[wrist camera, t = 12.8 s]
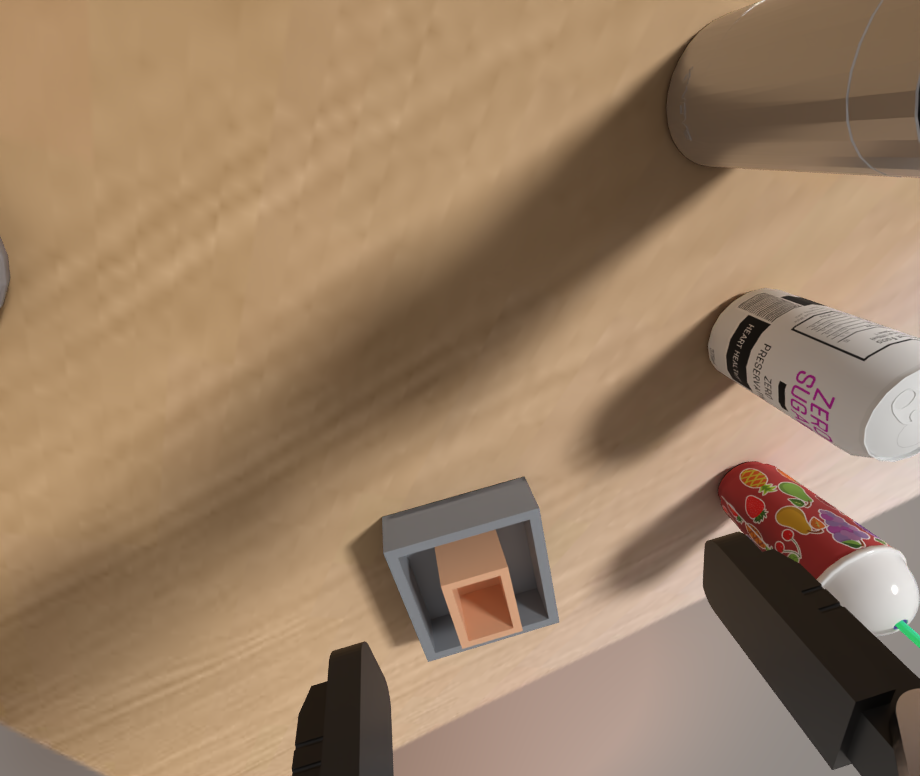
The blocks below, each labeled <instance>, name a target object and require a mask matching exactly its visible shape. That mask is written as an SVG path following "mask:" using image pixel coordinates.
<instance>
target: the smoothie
mask: <svg viewBox="0 0 920 776" xmlns="http://www.w3.org/2000/svg"><path fill="white" fill-rule="evenodd" d="M718 495H719V497H720V500H721V505H722V508H723V510H724V511H725V512H726V513H727V515H728V516H729V517H730V518H731V519H732V520H733V522H734V523H735V524H736V525H737V526H738V527H739V529H740V530H741V531H742V532H743V533H744V534H745V535H746V536H747V537H749V538H750V539H751V540H752V541H753V542H754V544H755V545H756V546H757V547H758V548H759V549H760V550H761V551H762V552H764V551H767V550H771V549H775V550H776V551H778V552H780V553H782V554H783V555H785V556H787V557H789V558H791V559H792V560H794V561H796V562H798V563H799V564H801V565H802V566H803V567H804V568H805V569H806V570H807V571H808V572H809V573H810V574H811V575H812V576H813V577H814V578H815V579H816V580H817V581H818V582H819V583H821V584H822V587H823V588H824V589H827V590H828V591H829V592H830V593H831V594H832V595H833V596H834V597H835V598H836V599H837V600H838V601H839V602H840V605H841V606H842V607H845V608H846V609H847V610H848V611H850V612H851V613H852V614H853V615H854V616H855V617H856V618H857V619H858V620H859V621H860V622H861V623H862V624H863V625H864V626H865V627H866V628H867V629H868V630H869V631H870V632H871V633H872V634H873V635H874V636H884V635H888V634H892V633H895V632H898V631H901V632H902V633H904V634H905V635H906V636H907V637H908V638H909V639H910V640H911V641H913V642H914V643H915V644H916V645H917V646H918V647H919V648H920V636H919V635H918V634H917V633H916V632H915V631H914V630H912V628H910V627H909V626H908V625H909V623H910V622H911V621H912V620H913V618H914V617H915V615H916V613H917V610H918V608H919V591H918V586H917V583H916V580H915V578H914V576H913V574H912V573H911V571H910V569H909V568H908V566H907V564H906V558H905V557H904V556H903V554H902V553H901V552H900V551H899V550H897V549H896V548H893V547H891V546H890V545H888V544H887V543H886V542H884V541H882V540H881V539H880V538H878V537H877V536H875V535H874V534H872V533H871V532H870V531H868V530H867V529H865V528H864V527H862V526H861V525H859V524H858V523H857V522H855V521H854V520H852V519H851V518H849V517H848V516H846V515H845V514H843V513H842V512H840V511H839V510H838V509H836V508H835V507H833V506H832V505H830V504H829V503H827V502H826V501H824V500H823V499H821V498H820V497H819V496H817V495H816V494H814V493H813V492H811V491H810V490H808V489H807V488H805V487H804V486H803V485H801V484H800V483H798V482H797V481H795V480H794V479H792V478H791V477H789V476H788V475H786V474H785V473H784V472H782V471H781V470H779V469H778V468H776V467H775V466H772V465H769V464H762V463H759V462H756V461H755V462H746V463H743V464H740V465H738V466H736V467H735V468H733V469H732V470H731V471H729V472H728V473H727V474H726V475H725V477H724V478H723V479H722V481H721V483H720V485H719V488H718Z"/></svg>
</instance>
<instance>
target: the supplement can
mask: <svg viewBox="0 0 920 776" xmlns="http://www.w3.org/2000/svg"><path fill="white" fill-rule="evenodd" d="M708 350H709V359H710V360H711V362H712V364H713V365H714V367H715V369H716V370H718V371H719V372H721V373H722V374H724V375H726V376H727V377H729V378H730V379H732V380H733V381H735V382H737V383H738V384H740V385H741V386H743V387H744V388H746V389H748V390H749V391H751V392H752V393H754V394H755V395H757V396H759V397H760V398H762V399H763V400H765V401H766V402H768V403H769V404H771V405H773V406H774V407H776V408H777V409H779V410H780V411H782V412H784V413H785V414H787V415H788V416H790V417H791V418H793V419H795V420H796V421H798V422H799V423H801V424H802V425H804V426H806V427H807V428H809V429H810V430H812V431H813V432H815V433H817V434H818V435H820V436H821V437H823V438H824V439H826V440H828V441H829V442H831V443H832V444H834V445H835V446H837V447H838V448H840V449H842V450H844V451H845V452H847V453H849V454H850V455H854V456H862V457H870V458H875V459H877V460H879V461H890V462H895V461H898V460H902V459H906V458H910V457H912V456H914V455H916V454H918V453H920V338H917V337H915V336H912V335H909V334H906V333H903V332H900V331H897V330H894V329H891V328H888V327H886V326H883V325H880V324H877V323H874V322H871V321H868V320H865V319H862V318H859V317H857V316H854V315H851V314H848V313H845V312H842V311H839V310H836V309H833V308H830V307H828V306H825V305H822V304H819V303H816V302H813V301H810V300H807V299H804V298H801V297H799V296H796V295H793V294H790V293H787V292H784V291H781V290H777V289H770V288H763V289H758V290H754V291H750V292H748V293H746V294H745V295H743V296H741V297H740V298H738V299H736V300H734V301H733V302H732V303H731V304H730V305H729V306H728V307H727V308H726V309H725V310H724V311H723V312H722V313H721V314H720V315H719V317H718V319H717V321H716V322H715V324H714V326H713V328H712V331H711V335H710V339H709V343H708Z"/></svg>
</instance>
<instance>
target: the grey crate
mask: <svg viewBox="0 0 920 776" xmlns="http://www.w3.org/2000/svg"><path fill="white" fill-rule="evenodd" d="M382 529H383V554H384V556H385V558H386V561H387V563H388V566H389V568H390V570H391V573H392V575H393V578H394V580H395V583H396V585H397V587H398V590H399V592H400V595H401V597H402V600H403V602H404V604H405V607H406V609H407V612H408V614H409V617H410V619H411V621H412V624H413V626H414V629H415V631H416V634H417V636H418V638H419V641H420V643H421V646H422V648H423V651H424V653H425V655H426V658H427V660H428V662H429V661H433V660H436V659H439V658H443V657H446V656H449V655H453V654H456V653H459V652H462V651H466V650H469V649H472V648H476V647H479V646H482V645H486V644H489V643H492V642H496V641H499V640H502V639H505V638H509V637H512V636H515V635H519V634H522V633H525V632H529V631H532V630H535V629H539V628H542V627H545V626H548V625H552V624H555V623H558V622H559V617H558V612H557V606H556V600H555V595H554V589H553V583H552V578H551V572H550V566H549V561H548V555H547V549H546V544H545V538H544V532H543V527H542V521H541V515H540V510H539V506H538V504H537V502H536V500H535V498H534V496H533V494H532V492H531V489H530V487H529V485H528V483H527V481H526V479H525V477H521V478H518V479H514V480H511V481H507V482H504V483H500V484H497V485H493V486H490V487H486V488H483V489H479V490H476V491H472V492H468V493H465V494H461V495H458V496H454V497H451V498H447V499H444V500H440V501H437V502H433V503H430V504H426V505H423V506H419V507H416V508H412V509H409V510H405V511H402V512H398V513H395V514H391V515H388V516H384V517H382ZM495 529H496V532H497V535H498V538H499V541H500V544H501V547H502V550H503V553H504V556H505V559H506V562H507V565H508V569H509V573H510V578H511V582H512V586H513V591H514V595H515V599H516V603H517V608H518V612H519V616H520V621H521V625H522V629H523V631H521V632H517V633H514V634H511V635H507V636H504V637H501V638H497V639H494V640H491V641H487V642H484V643H481V644H477V645H474V646H471V647H467V648H464V649H462V647H461V644H460V641H459V638H458V635H457V632H456V629H455V626H454V623H453V621H452V618H451V615H450V612H449V609H448V606H447V603H446V600H445V597H444V594H443V591H442V588H441V584H440V578H439V572H438V566H437V560H436V553H435V547H437V546H440V545H444V544H447V543H450V542H454V541H457V540H461V539H464V538H468V537H471V536H475V535H478V534H481V533H485V532H488V531H492V530H495Z"/></svg>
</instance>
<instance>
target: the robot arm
mask: <svg viewBox="0 0 920 776" xmlns="http://www.w3.org/2000/svg"><path fill="white" fill-rule="evenodd" d="M667 120H668V126H669V130H670V133H671V136H672V139H673V141H674V142H675V144H676V146H677V148H678V149H679V150H680V151H681V153H682V154H683V155H684V156H685V157H686V158H688V159H689V160H691V161H693V162H695V163H696V164H700V165H704V166H708V167H726V168H743V169H759V170H778V171H796V172H815V173H833V174H852V175H871V176H889V177H915V178H920V0H762V1H760V2H757V3H754V4H752V5H749V6H746V7H744V8H741V9H738V10H736V11H733V12H730V13H728V14H726V15H724V16H722V17H720V18H718V19H716V20H714V21H712V22H711V23H710V24H708V25H707V26H706V27H704V28H703V29H702V30H701V31H700V32H699V33H698V34H697V35H696V36H695V37H694V38H693V40H692V41H691V42H690V43H689V44H688V46H687V47H686V49H685V51H684V52H683V54H682V55H681V57H680V59H679V61H678V63H677V65H676V68H675V70H674V73H673V75H672V78H671V82H670V86H669V90H668V97H667ZM703 588H704V591H705V595H706V597H707V599H708V602H709V603H710V605H711V607H712V609H713V610H714V612H715V613H716V614H717V616H718V617H719V618H720V620H721V621H722V623H723V624H724V625H725V627H726V628H727V629H728V631H729V632H730V633H731V635H732V636H733V637H734V639H735V640H736V641H737V643H738V644H739V645H740V647H741V648H742V649H743V651H744V652H745V653H746V655H747V656H748V657H749V659H750V660H751V661H752V663H753V664H754V665H755V667H756V668H757V670H758V671H759V672H760V674H761V675H762V676H763V677H764V679H765V680H766V682H767V683H768V684H769V686H770V687H771V688H772V690H773V691H774V692H775V694H776V695H777V696H778V698H779V699H780V700H781V702H782V703H783V704H784V706H785V707H786V708H787V710H788V711H789V712H790V714H791V715H792V716H793V718H794V719H795V720H796V722H797V723H798V725H799V726H800V727H801V728H802V730H803V731H804V733H805V734H806V735H807V737H808V738H809V739H810V741H811V742H812V743H813V745H814V746H815V747H816V749H817V750H818V751H819V753H820V754H821V755H822V757H823V758H824V760H825V761H826V762H827V763H828V765H829V766H830V768H831V769H832V770H834V769H837V768H840V767H843V766H846V765H849V764H853V766H854V767H855V768H856V769H857V771H858V772H859V773H860V775H861V776H920V678H918V677H917V676H916V675H915V674H914V673H913V672H912V671H911V670H910V669H909V668H907V666H905V665H904V664H903V663H902V662H901V661H900V660H899V659H898V658H897V657H896V656H895V655H894V654H893V653H892V652H891V651H890V650H889V649H888V648H887V647H886V646H885V645H884V644H883V643H882V642H881V641H880V640H879V639H877V638H876V637H875V636H874V635H873V634H872V633H871V632H870V631H869V630H868V629H867V628H866V627H865V626H864V625H863V624H862V623H861V622H860V621H859V620H858V619H857V618H856V617H855V616H854V615H853V614H852V613H851V612H850V611H848V610H847V609H846V608H845V607H842V606H841V605H840V602H839V601H838V600H837V599H836V598H835V597H834V596H833V595H832V594H831V593H830V592H829V591H828V590H827V589H824V588H823V587H822V584H821V583H819V582H818V581H817V580H816V579H815V578H814V577H813V576H812V575H811V574H810V573H809V572H808V571H807V570H806V569H805V568H804V567H803V566H802V565H801V564H799V563H798V562H796V561H794V560H792V559H791V558H789V557H787V556H785V555H783V554H782V553H780V552H778V551H776V550H775V549H771V550H767V551H764V552H762V551H761V550H760V549H759V548H758V547H757V546H756V545H755V544H754V542H753V541H752V540H751V539H750V538H749V537H747V536H746V535H745V534H743V533H741V532H735V533H732V534H729V535H725V536H722V537H719V538H715V539H712V540H708V541H707V542H706V543H705V550H704V570H703ZM295 746H296V749H295V750H294V756H293V764H292V772H293V774H292V776H393V749H392V723H391V704H390V696H389V691H388V686H387V683H386V680H385V677H384V675H383V673H382V671H381V669H380V667H379V665H378V663H377V661H376V659H375V657H374V655H373V653H372V651H371V649H370V647H369V645H368V644H367V642H361V643H358V644H354V645H351V646H348V647H344V648H341V649H338V650H334V651H332V653H331V655H330V659H329V668H328V681H327V682H324V683H320V684H317V685H314V686H311V688H310V690H309V693H308V695H307V697H306V699H305V702H304V704H303V706H302V708H301V711H300V713H299V716H298V724H297V732H296V740H295Z"/></svg>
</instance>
